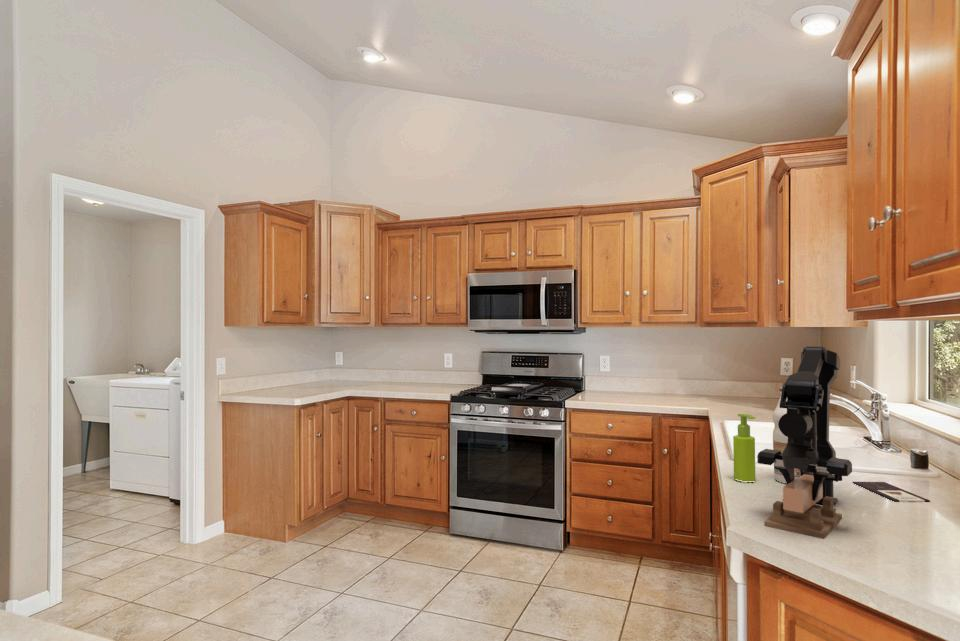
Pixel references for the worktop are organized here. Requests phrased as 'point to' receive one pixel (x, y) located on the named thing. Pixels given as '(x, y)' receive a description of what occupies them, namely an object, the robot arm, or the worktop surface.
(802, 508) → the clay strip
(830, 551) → the worktop surface
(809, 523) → the drying rack
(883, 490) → the chocolate bar
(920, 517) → the worktop surface
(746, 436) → the soap dispenser
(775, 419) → the fruit juice
